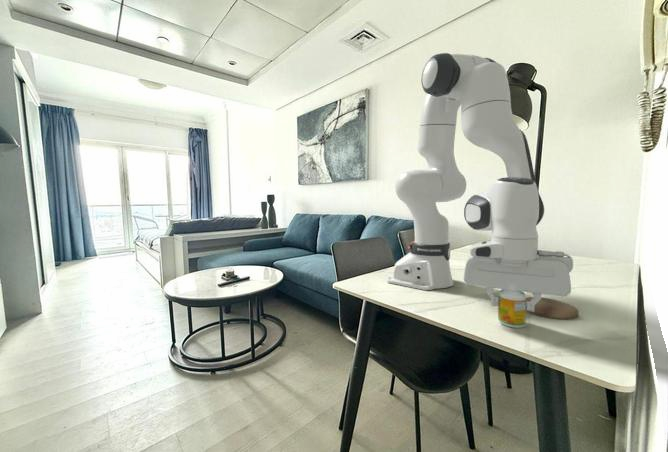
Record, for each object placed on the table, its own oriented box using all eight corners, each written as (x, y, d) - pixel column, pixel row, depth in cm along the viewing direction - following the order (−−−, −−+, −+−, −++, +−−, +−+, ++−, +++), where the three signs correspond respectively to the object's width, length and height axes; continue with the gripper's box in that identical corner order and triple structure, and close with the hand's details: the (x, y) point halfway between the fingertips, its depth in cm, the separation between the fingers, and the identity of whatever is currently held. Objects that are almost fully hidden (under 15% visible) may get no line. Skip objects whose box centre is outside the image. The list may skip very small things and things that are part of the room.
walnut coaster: (520, 313, 68) (520, 309, 68) (517, 298, 78) (518, 294, 78) (584, 323, 62) (584, 319, 62) (572, 305, 72) (572, 301, 72)
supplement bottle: (492, 318, 66) (493, 279, 65) (514, 317, 66) (515, 278, 65) (508, 329, 60) (509, 286, 60) (531, 327, 61) (532, 285, 60)
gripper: (570, 249, 59) (567, 311, 60) (465, 244, 70) (465, 296, 71) (577, 255, 54) (573, 322, 55) (463, 248, 64) (462, 305, 66)
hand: (511, 307), depth 63 cm, fingers closed on supplement bottle, 5 cm apart
